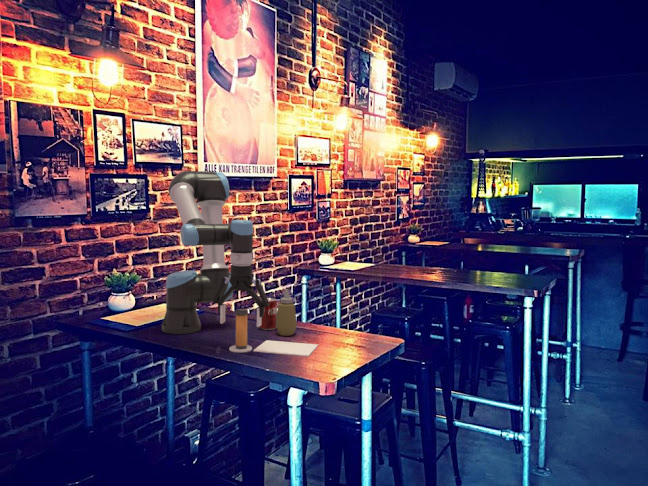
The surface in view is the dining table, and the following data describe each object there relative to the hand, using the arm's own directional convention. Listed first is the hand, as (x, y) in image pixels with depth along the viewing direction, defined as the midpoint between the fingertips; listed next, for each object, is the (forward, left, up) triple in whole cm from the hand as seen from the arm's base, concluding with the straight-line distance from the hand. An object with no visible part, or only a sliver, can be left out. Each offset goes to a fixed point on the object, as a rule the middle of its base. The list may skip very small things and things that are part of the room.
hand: (240, 324), depth 189 cm
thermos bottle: (0, 0, -8) cm, 8 cm away
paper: (+15, +6, -9) cm, 19 cm away
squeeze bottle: (+9, +25, -9) cm, 28 cm away
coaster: (0, 0, -9) cm, 9 cm away
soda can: (-1, +32, -9) cm, 33 cm away
